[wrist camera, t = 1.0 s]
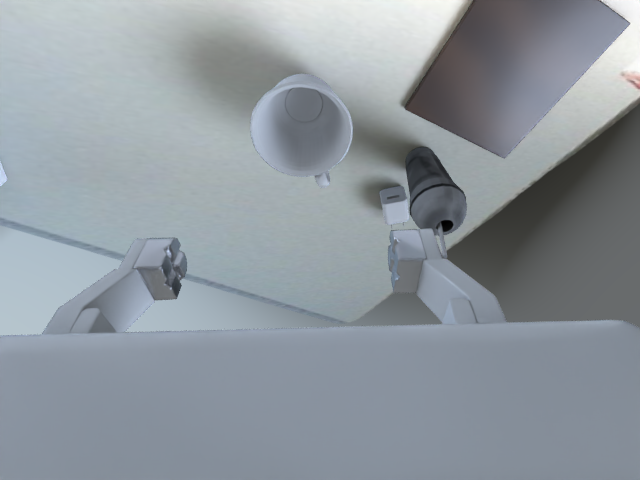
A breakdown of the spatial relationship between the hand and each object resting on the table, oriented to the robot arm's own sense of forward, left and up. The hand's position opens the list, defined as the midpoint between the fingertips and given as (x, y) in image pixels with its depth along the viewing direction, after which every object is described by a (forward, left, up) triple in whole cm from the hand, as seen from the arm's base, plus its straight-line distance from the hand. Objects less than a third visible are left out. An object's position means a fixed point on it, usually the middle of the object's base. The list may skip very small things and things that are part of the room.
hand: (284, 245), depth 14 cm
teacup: (+11, +5, -40) cm, 41 cm away
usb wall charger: (+20, +25, -40) cm, 51 cm away
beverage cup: (+11, +24, -40) cm, 47 cm away
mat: (-5, +26, -39) cm, 47 cm away
